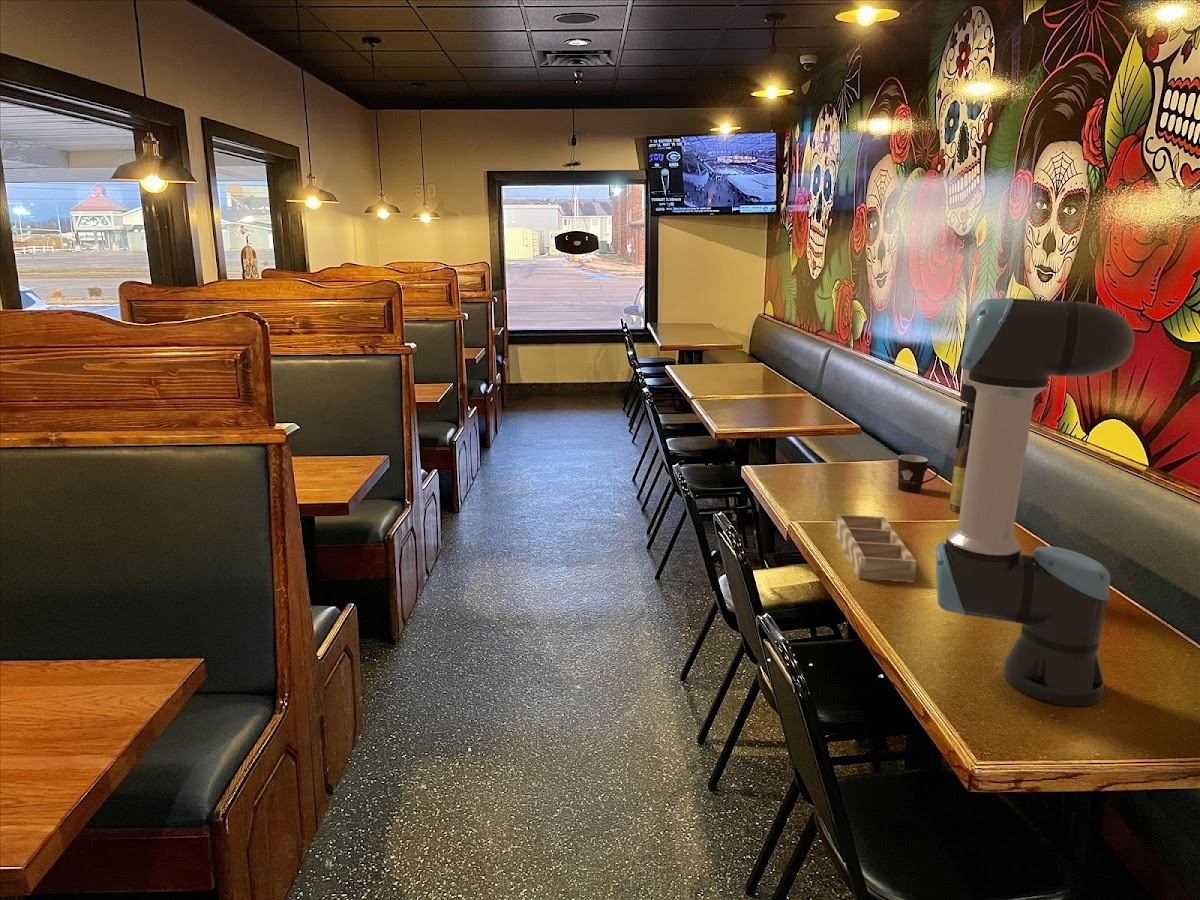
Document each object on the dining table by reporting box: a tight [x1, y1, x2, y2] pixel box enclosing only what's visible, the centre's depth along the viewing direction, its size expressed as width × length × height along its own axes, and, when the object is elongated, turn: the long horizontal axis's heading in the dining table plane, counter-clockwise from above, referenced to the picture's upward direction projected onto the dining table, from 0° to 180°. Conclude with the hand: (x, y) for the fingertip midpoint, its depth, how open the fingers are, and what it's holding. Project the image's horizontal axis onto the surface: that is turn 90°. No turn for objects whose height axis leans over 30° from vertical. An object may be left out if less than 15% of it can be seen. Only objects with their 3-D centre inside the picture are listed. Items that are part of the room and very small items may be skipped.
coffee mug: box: [897, 454, 940, 494], centre depth 256 cm, size 12×9×10 cm
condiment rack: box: [834, 514, 917, 583], centre depth 201 cm, size 31×12×5 cm, turn 175°
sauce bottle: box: [949, 424, 971, 515], centre depth 187 cm, size 6×6×20 cm
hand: (966, 486), depth 188 cm, fingers closed on sauce bottle, 6 cm apart
